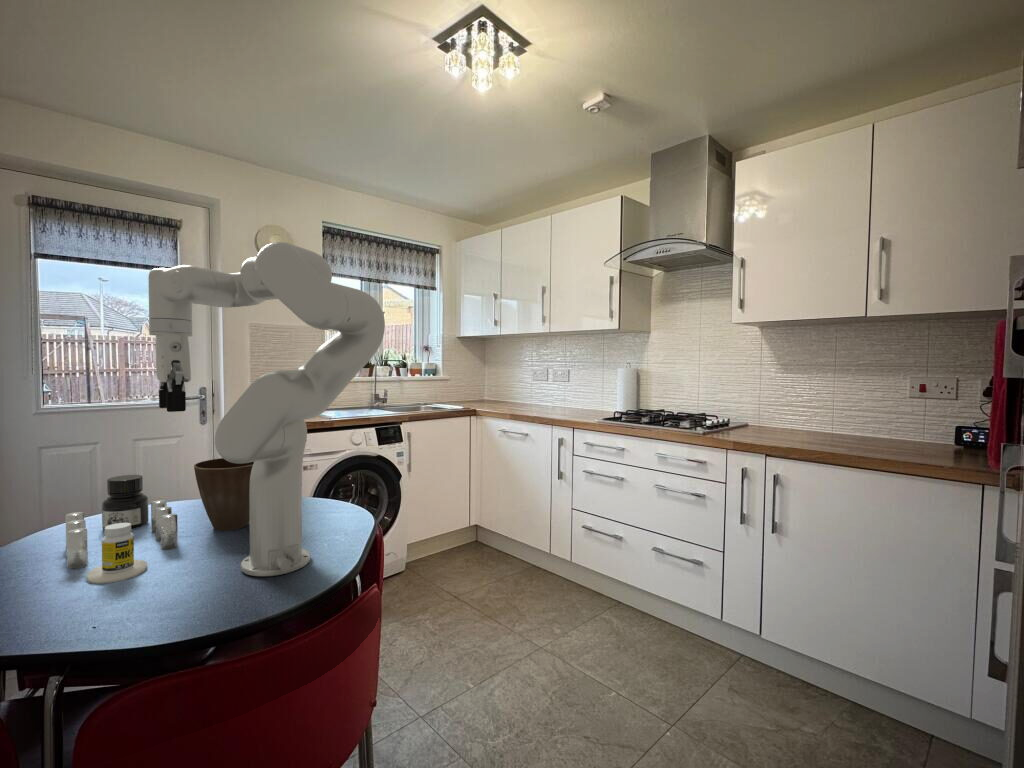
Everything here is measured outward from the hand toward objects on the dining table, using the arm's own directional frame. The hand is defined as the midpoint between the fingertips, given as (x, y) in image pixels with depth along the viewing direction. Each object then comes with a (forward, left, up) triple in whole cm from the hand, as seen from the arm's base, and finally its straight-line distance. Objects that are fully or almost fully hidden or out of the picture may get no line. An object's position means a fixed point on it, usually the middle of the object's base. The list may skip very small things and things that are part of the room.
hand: (172, 409), depth 105 cm
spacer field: (+9, +8, -30) cm, 33 cm away
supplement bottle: (-7, +10, -30) cm, 32 cm away
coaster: (-7, +10, -30) cm, 33 cm away
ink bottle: (+25, +6, -31) cm, 40 cm away
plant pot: (+9, -13, -31) cm, 34 cm away
